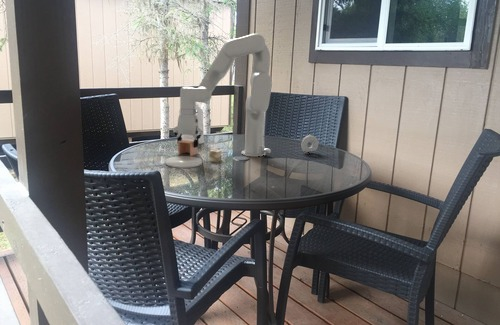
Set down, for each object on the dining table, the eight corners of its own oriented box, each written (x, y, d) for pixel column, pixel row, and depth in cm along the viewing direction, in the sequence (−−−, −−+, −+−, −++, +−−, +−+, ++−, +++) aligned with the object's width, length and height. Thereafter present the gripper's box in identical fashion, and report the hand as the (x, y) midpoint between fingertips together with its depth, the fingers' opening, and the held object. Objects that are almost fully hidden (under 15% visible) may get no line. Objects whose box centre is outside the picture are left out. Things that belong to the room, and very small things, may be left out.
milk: (177, 140, 246) (177, 95, 240) (196, 139, 251) (196, 95, 245) (184, 144, 236) (185, 97, 229) (203, 143, 241) (204, 97, 235)
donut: (315, 152, 229) (316, 134, 227) (318, 153, 226) (320, 135, 224) (299, 153, 226) (300, 134, 223) (302, 154, 222) (303, 136, 220)
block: (221, 160, 203) (221, 150, 202) (217, 162, 199) (218, 152, 198) (213, 159, 204) (213, 149, 203) (209, 161, 200) (209, 151, 199)
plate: (208, 161, 200) (208, 158, 199) (191, 169, 184) (191, 166, 184) (176, 157, 205) (176, 154, 205) (158, 164, 189) (158, 162, 189)
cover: (197, 153, 215) (197, 140, 213) (191, 156, 208) (191, 142, 207) (184, 151, 217) (184, 138, 215) (178, 154, 211) (178, 141, 209)
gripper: (207, 112, 208) (206, 146, 213) (176, 109, 214) (176, 143, 218) (200, 114, 201) (200, 149, 206) (168, 111, 207) (168, 145, 211)
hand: (187, 146), depth 212 cm, fingers open, 8 cm apart
